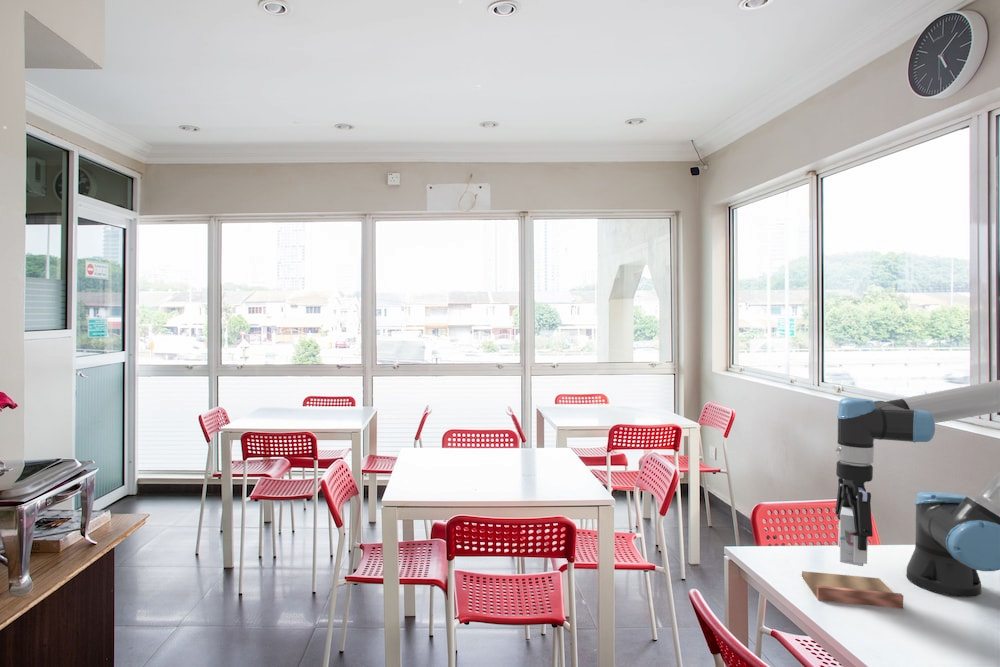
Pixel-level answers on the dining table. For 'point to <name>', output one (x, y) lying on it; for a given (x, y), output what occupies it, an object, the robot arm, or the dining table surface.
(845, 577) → the shelf board
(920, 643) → the dining table surface
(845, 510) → the ink box
